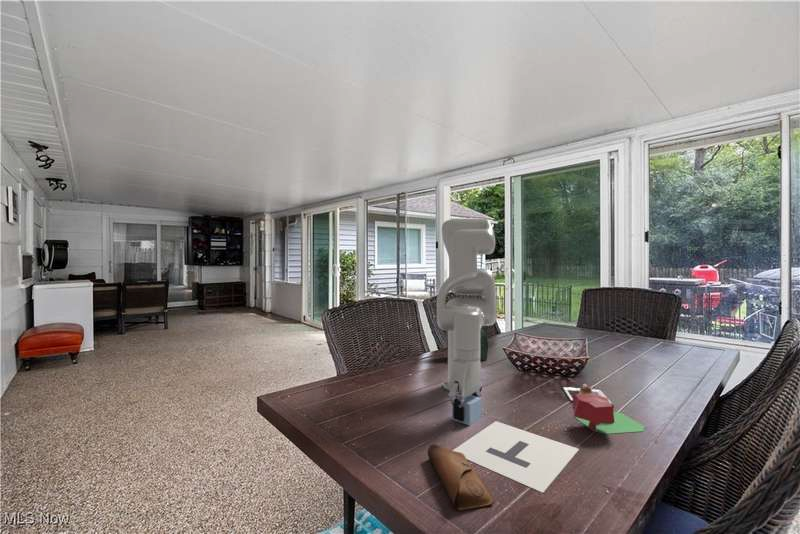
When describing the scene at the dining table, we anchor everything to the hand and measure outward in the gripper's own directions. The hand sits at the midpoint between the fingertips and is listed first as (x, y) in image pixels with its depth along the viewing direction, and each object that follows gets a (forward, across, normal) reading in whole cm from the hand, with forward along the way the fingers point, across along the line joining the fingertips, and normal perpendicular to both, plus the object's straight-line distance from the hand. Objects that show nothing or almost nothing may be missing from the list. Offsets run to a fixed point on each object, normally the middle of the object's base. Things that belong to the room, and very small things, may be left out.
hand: (466, 414), depth 105 cm
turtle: (+1, -23, +30) cm, 37 cm away
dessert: (+2, -41, +20) cm, 46 cm away
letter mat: (+1, +7, +18) cm, 19 cm away
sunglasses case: (+1, +26, +14) cm, 29 cm away
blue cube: (+1, 0, 0) cm, 1 cm away
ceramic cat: (+1, -52, -34) cm, 62 cm away
